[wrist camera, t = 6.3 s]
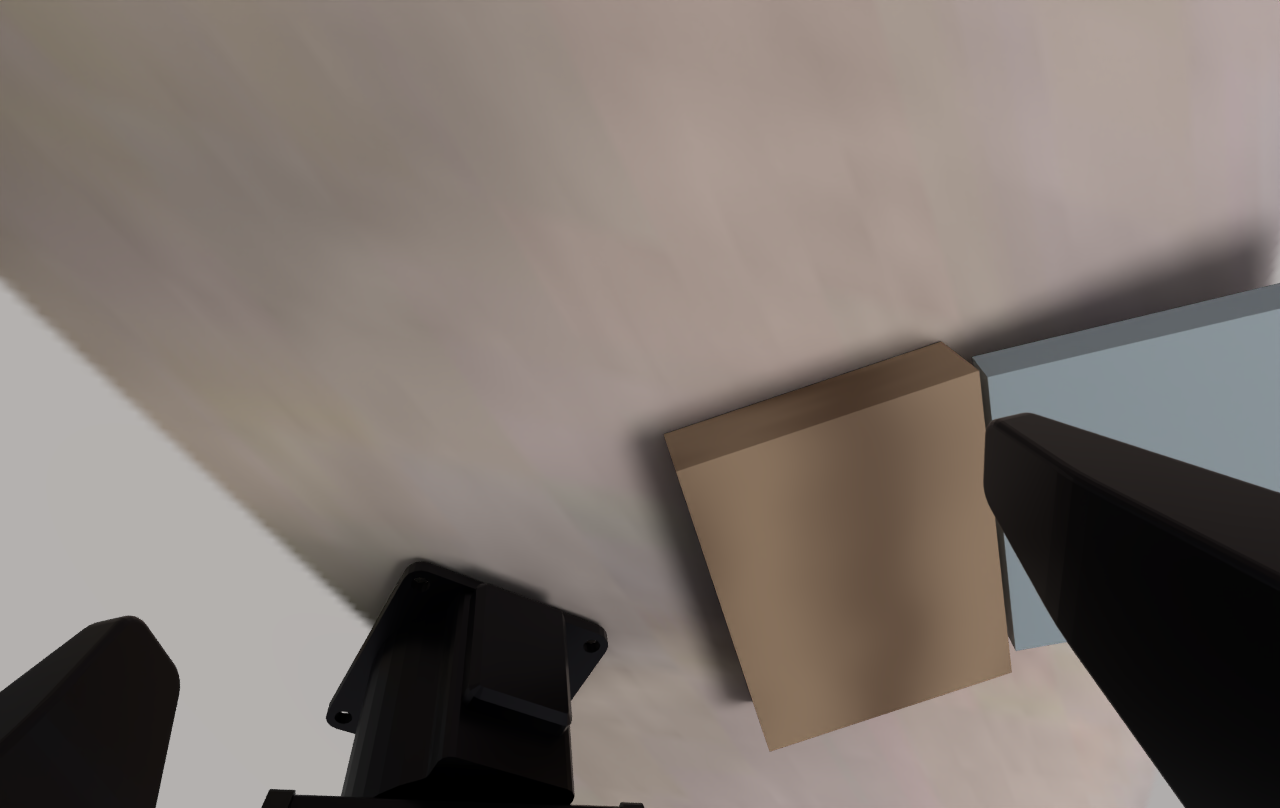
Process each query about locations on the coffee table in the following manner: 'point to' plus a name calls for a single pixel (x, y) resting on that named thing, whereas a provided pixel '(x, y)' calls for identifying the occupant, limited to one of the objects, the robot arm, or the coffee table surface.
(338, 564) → the coffee table surface
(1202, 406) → the panel
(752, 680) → the block
